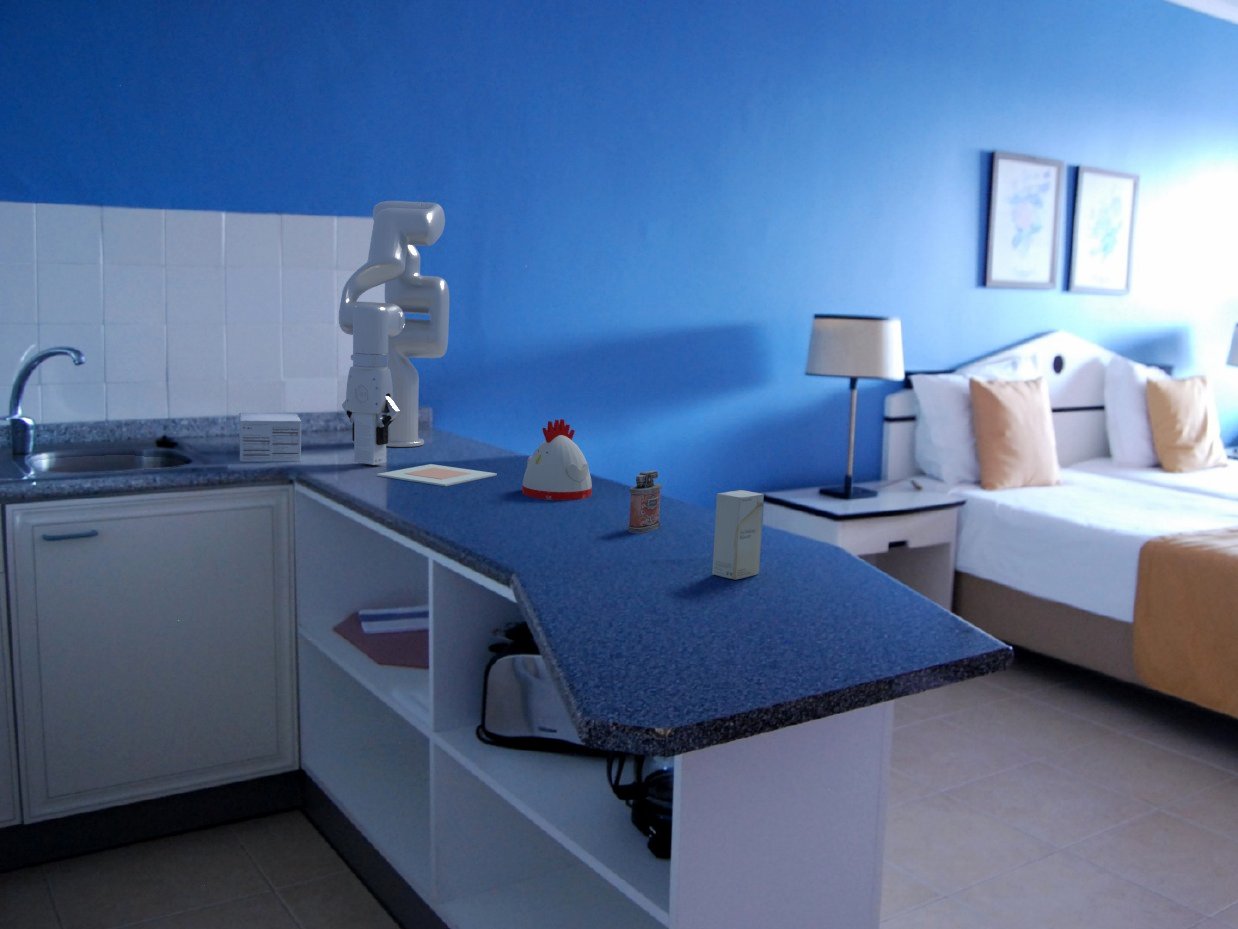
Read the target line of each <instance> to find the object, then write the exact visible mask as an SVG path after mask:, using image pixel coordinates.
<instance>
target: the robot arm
mask: <svg viewBox="0 0 1238 929" xmlns="http://www.w3.org/2000/svg"><path fill="white" fill-rule="evenodd" d="M372 219H373V223H372V232H371V237H370V243H369V244H370V245H369V251H368V256H367V262H366V263H364V264H363V265H362V266H360V267H359V268H358V269H357V270H355V272H354V273H352V274H351V276H350V277H349V278H348V280H347V281H346V282H345V284H344V286H343V288H342V293H341V297H340V298H341V299H340V302H339V303H340V304H339V310H338V324H339V328H340V330H341V331H342V332H344V334H347V335H350V336H352V354H351V355H350V360H351V361H352V366H350V367H349V370H348V374H347V375H348V376H347V382H346V393H345V400H344V401H343V403H342V405H341V406H342V409H343V410H344V411H345V413H346V415H347V417H348V418H349V423H350V424H352V428H351V432H352V434H351V436H352V437H351V438H352V442H354V412H357V413H364V414H372V415H376V418H377V422H378V425H379V427H377V428H376V444H377V445H383V444H386V447H391V448H392V447H393V448H394V447H395V448H411V447H419V446H423V445H424V444H425V439H424V438H420V437H419V395H420V394H419V392H420V391H419V389H420V379H419V378H420V376H419V373H418V372H419V371H418V370H417V368H416V367H415V365H414V364H413V363H412V362H411V361H410V358H411V359H412V358H419V359H423V358H424V359H440V358H442V357H444V356H445V355H446V353H447V351H448V345H449V327H450V326H449V324H450V322H449V320H450V289H449V286H448V283H447V281H446V280H445V279H444V278H442V277H440V276H434V275H431V276H430V275H421V254H420V252H419V251H418V249H417V248H416V246H419V247H420V246H422V247H424V246H425V247H429V246H433V245H434V244H435V243H436V242H437V241H438V239H440V238H441V236H442V234H443V233H444V229H445V225H446V214H445V211H444V209H443V207H442V206H441V205H440V204H439V203H437V202H425V201H424V202H423V201H406V200H385V201H381V202H378V203H376V204H375V205H374V207H373V210H372ZM383 284H384V302H375V301H358V299H359V298H360V296H362V295H363V294H364V293H365V292H367V291H368V290H371V289H372V288H375V287H378V286H380V285H383ZM405 314H416V315H427V316H429V319H418V318H406V316H405ZM383 411H384V412H383ZM382 416H383V418H384V419H383V418H382Z"/></svg>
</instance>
